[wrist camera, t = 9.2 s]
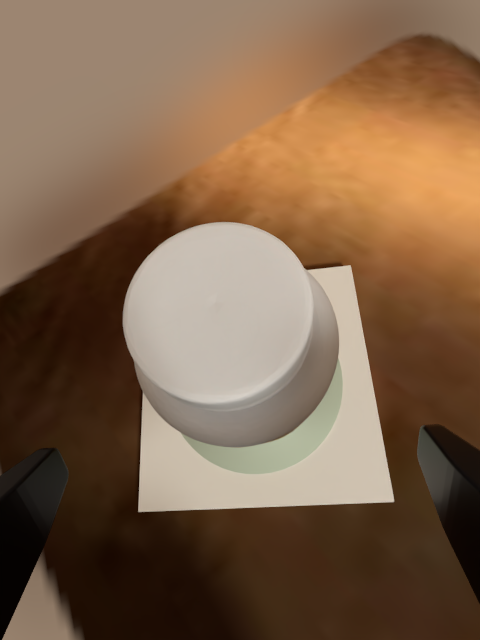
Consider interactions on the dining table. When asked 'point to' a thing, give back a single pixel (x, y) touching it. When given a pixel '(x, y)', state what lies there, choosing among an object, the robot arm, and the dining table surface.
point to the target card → (281, 442)
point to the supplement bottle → (230, 335)
